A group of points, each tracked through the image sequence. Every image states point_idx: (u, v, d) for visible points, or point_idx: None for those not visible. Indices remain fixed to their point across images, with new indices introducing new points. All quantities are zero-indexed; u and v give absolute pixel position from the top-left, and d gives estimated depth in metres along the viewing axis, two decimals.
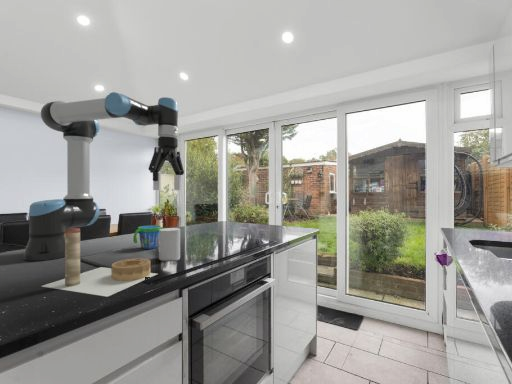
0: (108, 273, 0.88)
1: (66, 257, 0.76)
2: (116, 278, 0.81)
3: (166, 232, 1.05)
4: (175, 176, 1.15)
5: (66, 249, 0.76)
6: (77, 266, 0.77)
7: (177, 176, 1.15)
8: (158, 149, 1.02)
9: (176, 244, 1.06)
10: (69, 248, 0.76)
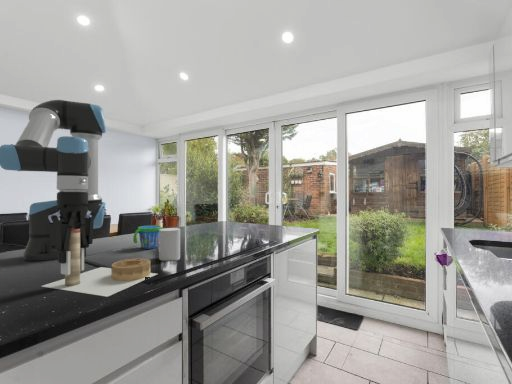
0: (108, 273, 0.88)
1: None
2: (116, 278, 0.81)
3: (166, 232, 1.05)
4: None
5: None
6: (77, 266, 0.77)
7: None
8: (52, 220, 0.72)
9: (176, 244, 1.06)
10: (69, 248, 0.76)
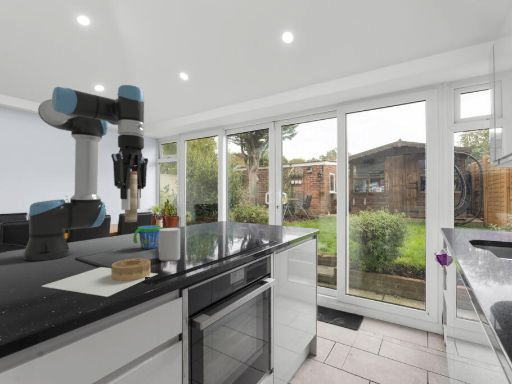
0: (108, 273, 0.88)
1: None
2: (116, 278, 0.81)
3: (166, 232, 1.05)
4: None
5: None
6: (135, 204, 0.85)
7: None
8: (116, 158, 0.80)
9: (176, 244, 1.06)
10: (128, 188, 0.84)
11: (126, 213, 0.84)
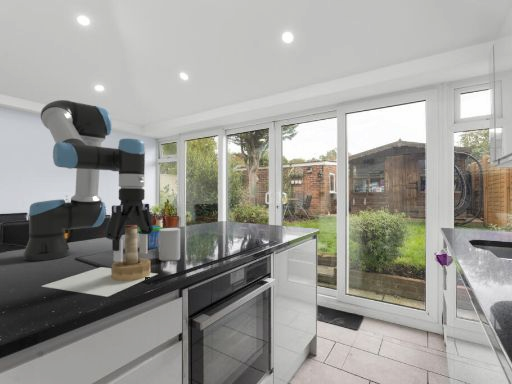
0: (108, 273, 0.88)
1: (126, 251, 0.85)
2: (116, 278, 0.81)
3: (166, 232, 1.05)
4: (141, 236, 0.91)
5: (126, 243, 0.84)
6: (136, 258, 0.86)
7: (143, 236, 0.91)
8: (116, 209, 0.80)
9: (176, 244, 1.06)
10: (129, 243, 0.84)
11: None
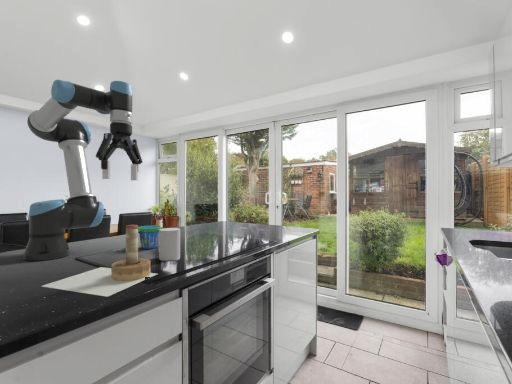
0: (108, 273, 0.88)
1: (127, 251, 0.85)
2: (116, 278, 0.81)
3: (166, 232, 1.05)
4: (132, 165, 1.09)
5: (127, 243, 0.85)
6: (136, 258, 0.86)
7: (134, 165, 1.08)
8: (107, 135, 0.96)
9: (176, 244, 1.06)
10: (129, 243, 0.84)
11: None
